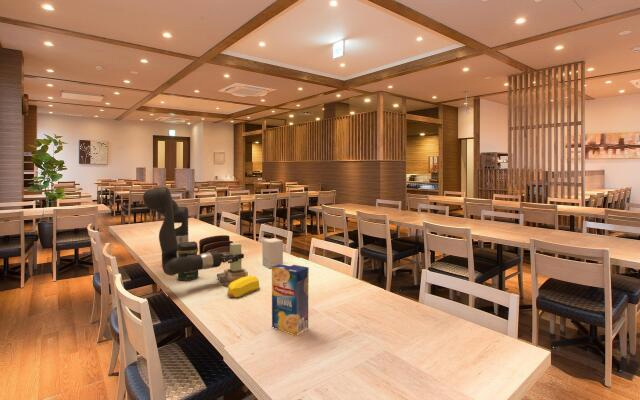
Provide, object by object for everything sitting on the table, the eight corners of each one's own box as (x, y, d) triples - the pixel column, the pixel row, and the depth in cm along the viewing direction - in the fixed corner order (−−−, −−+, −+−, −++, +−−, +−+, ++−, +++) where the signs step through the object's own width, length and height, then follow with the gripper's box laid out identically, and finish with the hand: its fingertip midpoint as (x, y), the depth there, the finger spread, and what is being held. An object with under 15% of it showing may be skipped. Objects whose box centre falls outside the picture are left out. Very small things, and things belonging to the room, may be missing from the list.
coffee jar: (180, 282, 173) (178, 244, 171) (176, 277, 180) (175, 241, 178) (200, 278, 178) (199, 242, 177) (196, 274, 185) (195, 239, 183)
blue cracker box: (284, 320, 132) (284, 262, 130) (308, 328, 126) (308, 267, 124) (271, 327, 126) (271, 266, 124) (296, 336, 120) (297, 272, 118)
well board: (216, 276, 183) (216, 268, 183) (241, 272, 189) (241, 264, 189) (225, 286, 167) (225, 278, 167) (252, 282, 174) (252, 274, 173)
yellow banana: (222, 297, 155) (235, 300, 151) (222, 282, 154) (235, 285, 150) (251, 285, 170) (263, 288, 166) (251, 271, 169) (263, 274, 165)
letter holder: (199, 261, 212) (198, 237, 210) (229, 255, 225) (228, 233, 224) (207, 264, 204) (206, 240, 203) (237, 258, 218) (237, 236, 217)
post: (230, 268, 179) (229, 243, 178) (238, 267, 181) (238, 242, 180) (232, 271, 175) (232, 245, 174) (241, 269, 177) (241, 244, 176)
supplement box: (283, 266, 202) (283, 240, 200) (269, 268, 197) (269, 242, 195) (276, 262, 209) (276, 237, 208) (262, 265, 204) (261, 239, 203)
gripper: (216, 255, 162) (248, 249, 174) (201, 249, 173) (232, 245, 184) (216, 271, 163) (248, 265, 175) (202, 265, 173) (233, 259, 185)
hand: (240, 254), depth 179 cm, fingers closed on post, 5 cm apart
